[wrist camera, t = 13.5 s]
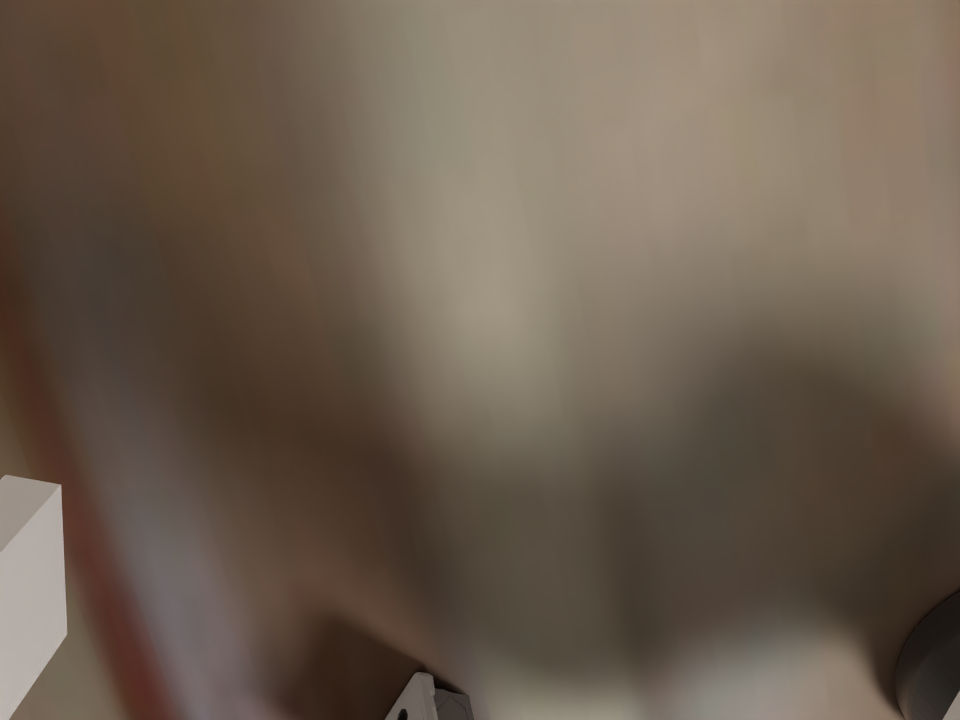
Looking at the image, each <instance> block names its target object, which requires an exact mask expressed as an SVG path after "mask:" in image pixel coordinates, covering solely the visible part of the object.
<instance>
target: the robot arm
mask: <svg viewBox="0 0 960 720" xmlns="http://www.w3.org/2000/svg"><path fill="white" fill-rule="evenodd" d="M66 635H67V618H66V594H65V570H64V546H63V522H62V498H61V485H60V484H54V483H49V482H43V481H37V480H32V479H26V478H21V477H15V476H10V475H5V476H4V477H3V478H1V479H0V720H9V719H10V717H11V716H12V714H13V713H14V711H15V710H16V708H17V707H18V705H19V704H20V702H21V701H22V700H23V698H24V697H25V695H26V694H27V692H28V691H29V689H30V688H31V686H32V685H33V683H34V682H35V681H36V679H37V678H38V676H39V675H40V673H41V672H42V670H43V669H44V667H45V666H46V664H47V663H48V662H49V660H50V659H51V657H52V656H53V654H54V653H55V651H56V650H57V648H58V647H59V646H60V644H61V643H62V641H63V640H64V638H65V637H66ZM895 693H896V698H897V702H898V705H899V707H900V710H901V712H902V714H903V716H904V718H905V720H960V591H959V592H958V593H956V594H954V595H953V596H951V597H950V598H948V599H947V600H946V601H944V602H943V603H941V604H940V605H939V606H938V607H937V608H935V609H934V610H933V611H932V612H931V613H930V614H929V615H928V616H927V617H926V618H925V619H924V620H923V621H922V622H921V623H920V624H919V625H918V626H917V628H916V629H915V630H914V631H913V633H912V634H911V636H910V637H909V639H908V640H907V642H906V644H905V646H904V648H903V650H902V652H901V654H900V657H899V660H898V663H897V667H896V673H895Z"/></svg>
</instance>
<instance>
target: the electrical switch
mask: <svg viewBox="0 0 960 720" xmlns="http://www.w3.org/2000/svg"><path fill="white" fill-rule="evenodd" d="M385 720H474V718H473V713H472V709H471V704H470V700H469V696H468V695H463V694H457V693H451V692H449V691H446V690H444V689H435V688H434V682H433V676H432V675H430V674H429V673H422V672H417V673H415V674H414V675H413V677H412V678H411V680H410V681H409V683H408V684H407V686H406V687H405V689H404V690H403V692H402V694H401V695H400V697H399V698H398V700H397V701H396V703H395V704H394V706H393V707H392V709H391V711H390V712H389V714H388V715H387V717H386V718H385Z"/></svg>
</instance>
